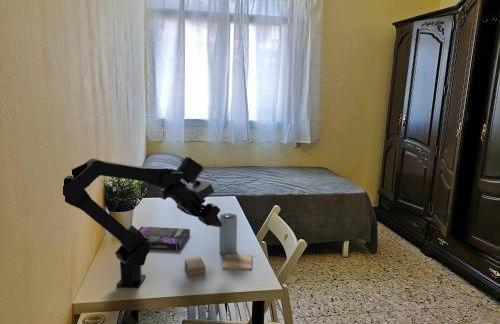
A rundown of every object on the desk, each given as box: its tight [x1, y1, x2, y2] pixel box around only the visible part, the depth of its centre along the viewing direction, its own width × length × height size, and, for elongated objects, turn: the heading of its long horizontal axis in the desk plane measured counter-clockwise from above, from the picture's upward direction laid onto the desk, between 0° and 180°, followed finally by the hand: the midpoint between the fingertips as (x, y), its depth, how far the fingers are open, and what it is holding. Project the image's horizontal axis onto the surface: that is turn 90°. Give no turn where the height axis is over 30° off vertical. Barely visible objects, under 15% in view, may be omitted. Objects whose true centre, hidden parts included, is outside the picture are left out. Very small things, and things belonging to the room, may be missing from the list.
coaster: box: [222, 254, 253, 271], centre depth 116 cm, size 9×9×1 cm
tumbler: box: [218, 212, 238, 256], centre depth 123 cm, size 6×6×13 cm
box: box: [138, 226, 191, 251], centre depth 132 cm, size 14×4×20 cm
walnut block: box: [184, 256, 207, 278], centre depth 111 cm, size 7×5×3 cm
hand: (213, 221), depth 118 cm, fingers open, 9 cm apart
